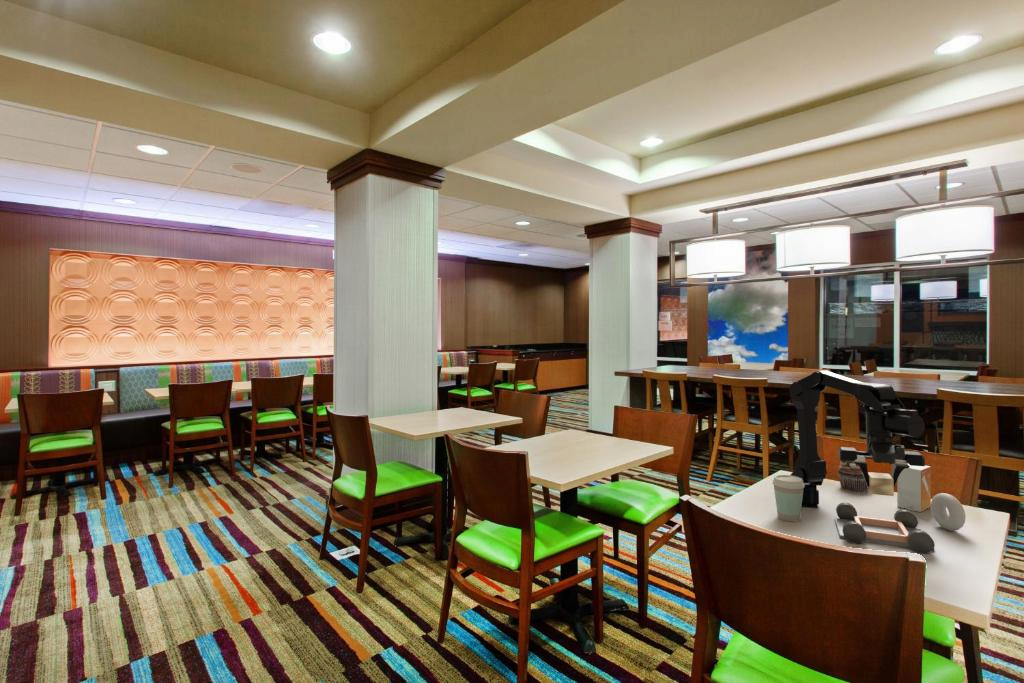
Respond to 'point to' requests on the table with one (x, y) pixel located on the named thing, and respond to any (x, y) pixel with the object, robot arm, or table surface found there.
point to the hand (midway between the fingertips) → (880, 487)
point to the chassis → (883, 529)
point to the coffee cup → (788, 496)
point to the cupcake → (851, 477)
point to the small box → (914, 488)
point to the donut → (954, 508)
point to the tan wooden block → (881, 484)
